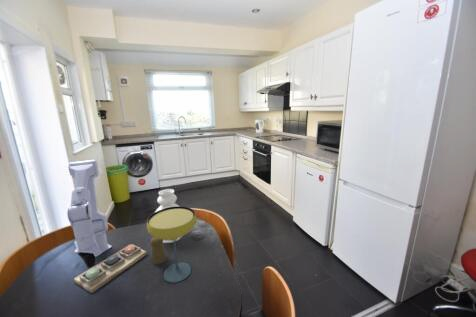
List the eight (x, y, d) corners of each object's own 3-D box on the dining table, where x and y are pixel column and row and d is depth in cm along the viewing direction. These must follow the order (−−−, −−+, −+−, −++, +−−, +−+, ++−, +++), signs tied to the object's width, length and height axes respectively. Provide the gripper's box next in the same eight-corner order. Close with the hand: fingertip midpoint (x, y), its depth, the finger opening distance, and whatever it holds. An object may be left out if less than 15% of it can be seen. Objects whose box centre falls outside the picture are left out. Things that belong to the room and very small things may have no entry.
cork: (161, 265, 90) (158, 242, 88) (149, 263, 91) (145, 241, 89) (168, 255, 96) (166, 234, 94) (156, 254, 97) (154, 233, 95)
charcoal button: (104, 263, 89) (103, 259, 88) (114, 257, 92) (114, 253, 92) (110, 267, 87) (110, 262, 86) (121, 260, 90) (120, 256, 90)
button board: (74, 281, 82) (73, 275, 82) (130, 247, 103) (129, 241, 102) (91, 293, 77) (90, 286, 76) (146, 254, 97) (146, 248, 97)
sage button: (84, 278, 82) (83, 273, 81) (96, 270, 86) (95, 266, 85) (90, 282, 80) (89, 277, 79) (102, 274, 84) (101, 270, 83)
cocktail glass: (207, 261, 92) (203, 208, 86) (185, 295, 75) (178, 232, 69) (171, 254, 97) (166, 204, 92) (143, 284, 80) (135, 225, 75)
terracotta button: (122, 253, 96) (122, 250, 95) (131, 248, 99) (131, 244, 99) (128, 256, 94) (128, 252, 93) (137, 251, 97) (137, 247, 97)
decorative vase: (183, 246, 103) (178, 198, 97) (147, 246, 103) (140, 199, 98) (191, 226, 120) (188, 185, 115) (160, 227, 120) (155, 185, 115)
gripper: (62, 235, 79) (69, 266, 82) (83, 246, 72) (90, 279, 75) (83, 226, 85) (89, 255, 88) (104, 235, 78) (110, 267, 81)
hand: (91, 266), depth 82 cm, fingers closed
